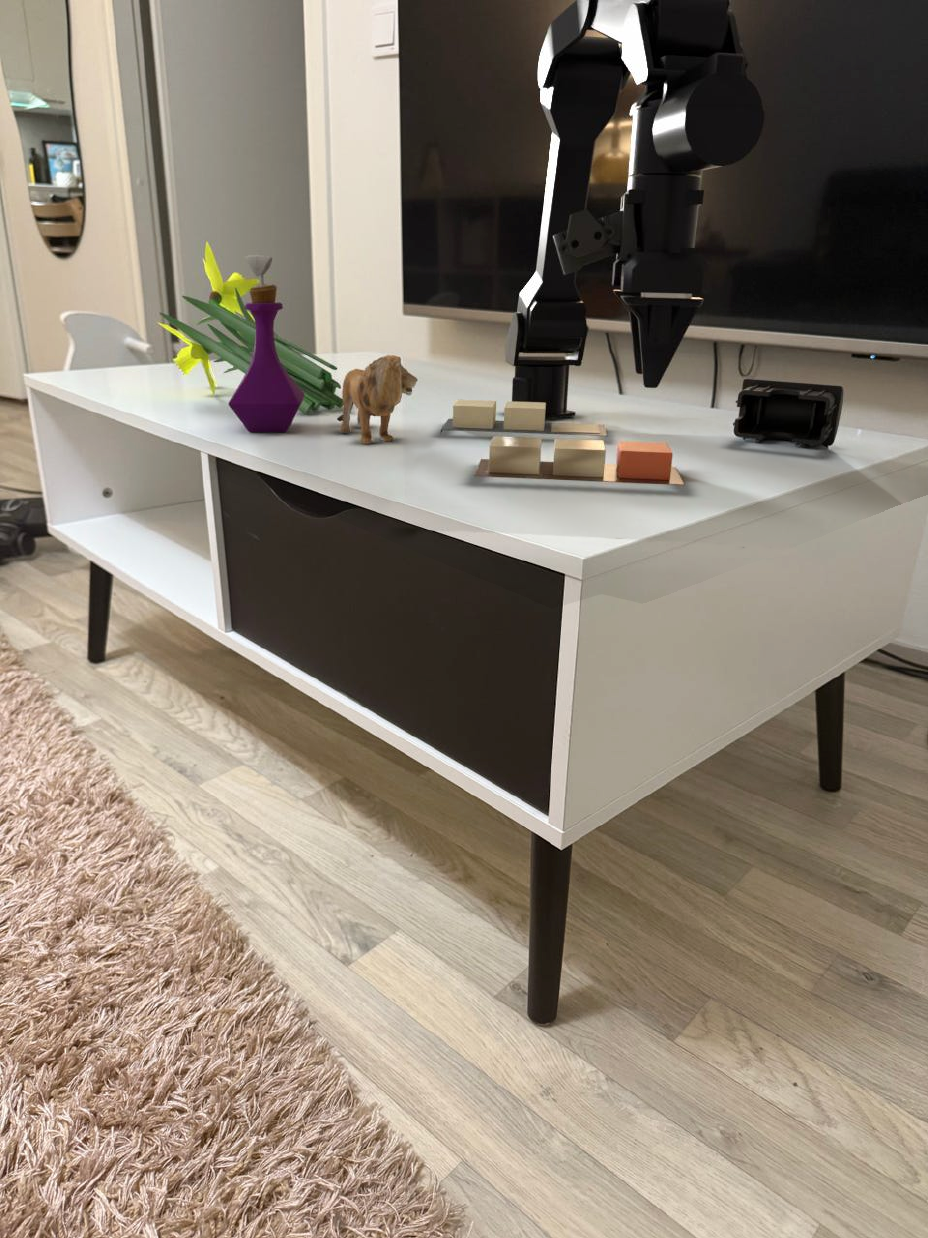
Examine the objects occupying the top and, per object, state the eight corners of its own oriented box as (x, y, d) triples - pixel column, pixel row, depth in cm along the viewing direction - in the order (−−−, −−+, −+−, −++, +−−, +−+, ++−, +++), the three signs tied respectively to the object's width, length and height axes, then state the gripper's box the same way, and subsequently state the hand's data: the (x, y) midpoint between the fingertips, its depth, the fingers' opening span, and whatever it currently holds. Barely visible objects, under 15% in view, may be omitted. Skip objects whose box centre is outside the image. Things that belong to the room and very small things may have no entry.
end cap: (835, 447, 97) (846, 382, 95) (826, 459, 91) (837, 390, 89) (741, 437, 102) (749, 375, 99) (726, 448, 96) (735, 382, 93)
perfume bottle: (240, 422, 104) (228, 253, 97) (306, 422, 105) (298, 255, 98) (230, 434, 97) (216, 254, 90) (300, 435, 98) (292, 255, 91)
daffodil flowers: (250, 429, 105) (107, 325, 123) (327, 473, 118) (186, 373, 136) (328, 303, 103) (171, 217, 122) (397, 362, 116) (245, 276, 134)
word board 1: (440, 436, 98) (440, 406, 97) (447, 425, 105) (448, 397, 104) (606, 443, 97) (609, 412, 96) (604, 431, 103) (606, 402, 102)
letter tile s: (618, 478, 78) (620, 450, 77) (615, 467, 82) (617, 440, 81) (669, 480, 78) (672, 452, 77) (664, 469, 82) (667, 442, 81)
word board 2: (473, 484, 78) (474, 447, 77) (480, 467, 85) (481, 432, 84) (684, 493, 77) (688, 456, 76) (675, 475, 83) (678, 440, 82)
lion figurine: (422, 445, 94) (423, 355, 90) (377, 450, 91) (376, 358, 88) (357, 423, 105) (355, 342, 102) (315, 426, 102) (312, 344, 99)
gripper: (562, 184, 81) (553, 365, 86) (561, 165, 63) (549, 392, 69) (689, 186, 80) (671, 368, 85) (723, 167, 62) (697, 397, 68)
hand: (645, 380), depth 77 cm, fingers open, 9 cm apart
